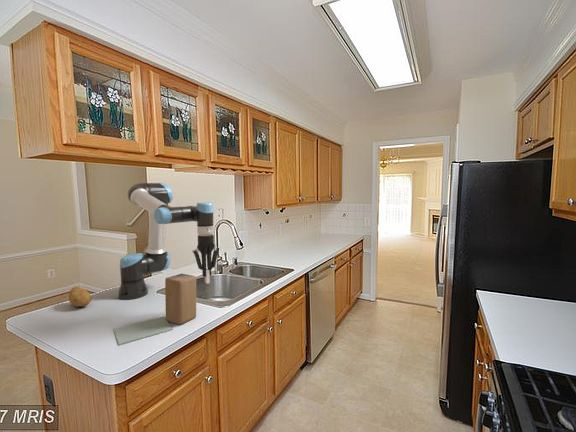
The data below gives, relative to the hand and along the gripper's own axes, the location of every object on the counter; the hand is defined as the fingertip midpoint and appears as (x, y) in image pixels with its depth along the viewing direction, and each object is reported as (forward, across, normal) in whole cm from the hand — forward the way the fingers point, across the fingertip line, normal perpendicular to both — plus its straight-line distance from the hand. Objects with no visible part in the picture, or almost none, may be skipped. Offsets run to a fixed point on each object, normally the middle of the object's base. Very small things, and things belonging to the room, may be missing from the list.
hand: (207, 282), depth 138 cm
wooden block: (+15, -13, 0) cm, 20 cm away
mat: (+15, -29, 0) cm, 33 cm away
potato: (+15, -50, +49) cm, 72 cm away
